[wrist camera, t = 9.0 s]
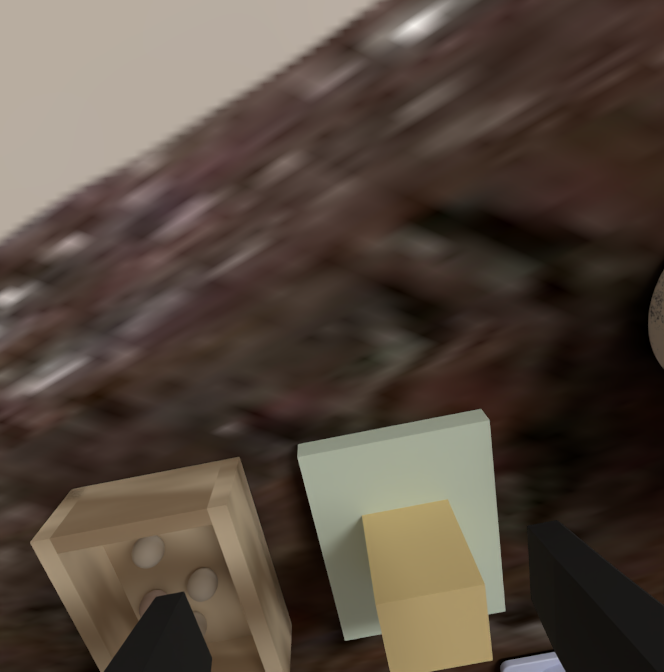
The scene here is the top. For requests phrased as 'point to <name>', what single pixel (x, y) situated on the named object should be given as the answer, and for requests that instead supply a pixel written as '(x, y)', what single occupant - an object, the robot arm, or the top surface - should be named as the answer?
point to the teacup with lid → (657, 321)
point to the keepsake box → (170, 563)
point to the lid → (411, 537)
